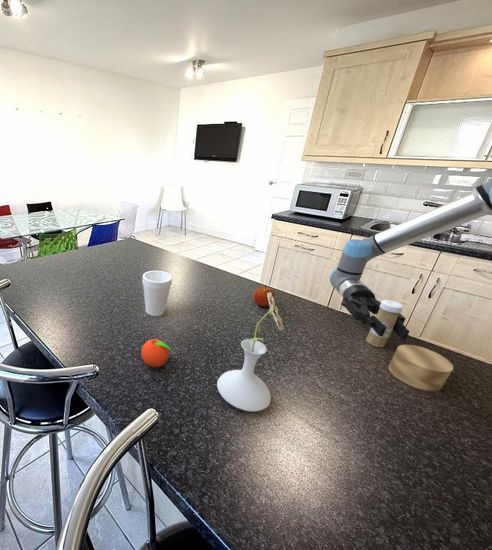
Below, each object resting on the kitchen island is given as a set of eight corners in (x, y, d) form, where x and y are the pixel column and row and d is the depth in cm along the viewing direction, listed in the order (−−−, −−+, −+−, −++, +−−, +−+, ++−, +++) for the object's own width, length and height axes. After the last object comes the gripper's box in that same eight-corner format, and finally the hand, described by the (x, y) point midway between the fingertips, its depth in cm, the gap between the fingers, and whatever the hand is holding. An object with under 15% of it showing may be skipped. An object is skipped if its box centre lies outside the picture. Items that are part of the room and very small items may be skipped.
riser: (425, 366, 77) (435, 348, 74) (452, 395, 68) (465, 375, 66) (380, 359, 79) (389, 341, 77) (401, 386, 70) (412, 366, 68)
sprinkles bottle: (366, 345, 85) (384, 304, 79) (363, 336, 89) (380, 297, 83) (386, 350, 83) (406, 308, 77) (382, 341, 87) (401, 301, 81)
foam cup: (174, 315, 98) (177, 279, 93) (149, 321, 94) (152, 284, 89) (159, 302, 106) (161, 268, 100) (136, 307, 102) (137, 273, 97)
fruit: (276, 307, 103) (282, 287, 100) (263, 312, 101) (268, 291, 97) (260, 299, 109) (264, 279, 106) (247, 303, 106) (251, 283, 103)
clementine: (174, 359, 78) (176, 337, 75) (168, 377, 72) (170, 354, 69) (145, 352, 80) (146, 330, 77) (137, 369, 74) (138, 346, 71)
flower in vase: (259, 426, 60) (289, 322, 49) (207, 397, 66) (224, 299, 56) (277, 389, 69) (306, 295, 58) (230, 367, 75) (249, 279, 65)
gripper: (382, 308, 98) (427, 351, 78) (324, 300, 102) (351, 339, 82) (391, 288, 95) (440, 327, 75) (330, 281, 99) (361, 316, 79)
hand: (394, 333), depth 78 cm, fingers open, 4 cm apart
